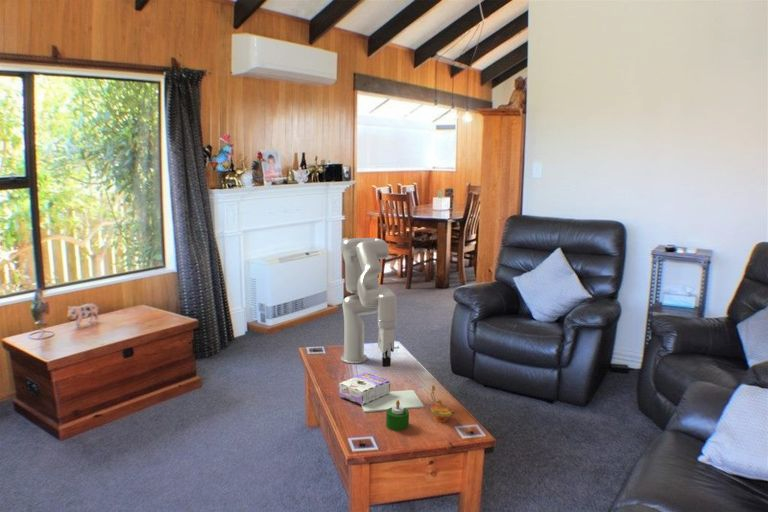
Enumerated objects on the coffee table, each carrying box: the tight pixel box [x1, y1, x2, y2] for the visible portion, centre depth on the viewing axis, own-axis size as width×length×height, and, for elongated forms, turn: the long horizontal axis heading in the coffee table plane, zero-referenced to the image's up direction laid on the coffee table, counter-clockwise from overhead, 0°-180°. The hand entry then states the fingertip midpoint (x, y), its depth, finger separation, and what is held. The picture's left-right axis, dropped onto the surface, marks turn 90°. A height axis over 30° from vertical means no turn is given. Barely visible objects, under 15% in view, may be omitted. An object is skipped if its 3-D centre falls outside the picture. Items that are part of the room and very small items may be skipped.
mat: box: [360, 389, 425, 413], centre depth 236 cm, size 16×24×1 cm, turn 103°
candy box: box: [338, 372, 391, 406], centre depth 240 cm, size 14×6×16 cm
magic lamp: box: [430, 384, 457, 423], centre depth 219 cm, size 7×18×11 cm, turn 24°
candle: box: [385, 400, 410, 432], centre depth 214 cm, size 8×8×10 cm
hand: (386, 366), depth 241 cm, fingers closed
